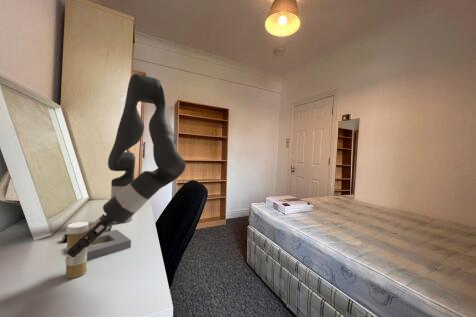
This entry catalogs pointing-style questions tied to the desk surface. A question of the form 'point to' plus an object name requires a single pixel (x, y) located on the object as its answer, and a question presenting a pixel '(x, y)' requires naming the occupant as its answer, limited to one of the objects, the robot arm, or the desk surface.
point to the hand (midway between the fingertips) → (77, 247)
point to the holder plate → (108, 244)
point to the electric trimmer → (66, 237)
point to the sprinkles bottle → (78, 263)
